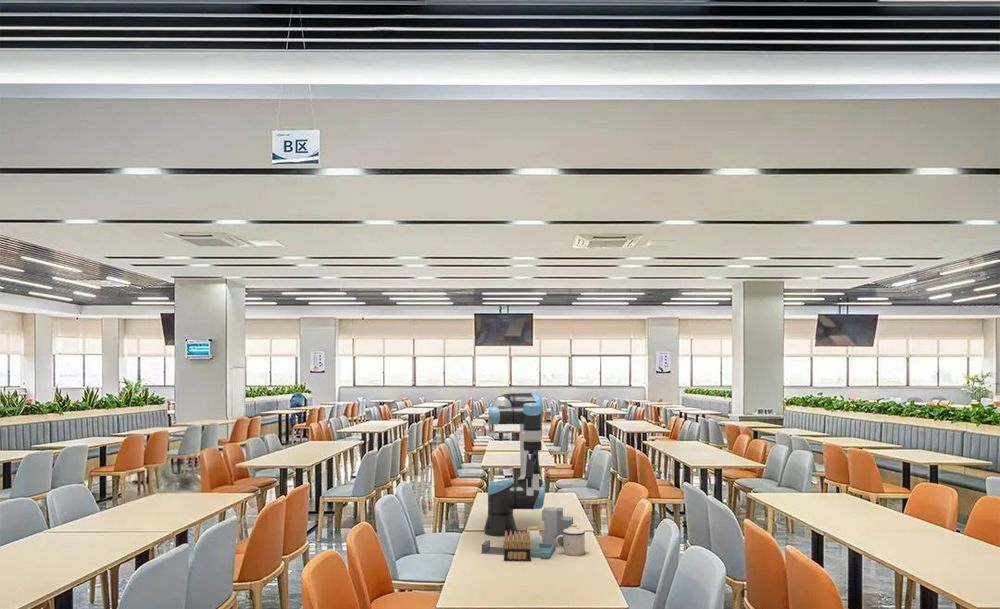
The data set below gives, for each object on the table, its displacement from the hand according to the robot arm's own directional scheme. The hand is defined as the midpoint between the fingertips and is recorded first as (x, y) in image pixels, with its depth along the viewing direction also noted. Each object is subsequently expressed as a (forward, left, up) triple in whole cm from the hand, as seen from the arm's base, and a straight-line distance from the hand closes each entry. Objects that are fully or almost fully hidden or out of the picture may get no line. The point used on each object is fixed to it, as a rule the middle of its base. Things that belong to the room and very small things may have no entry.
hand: (532, 492), depth 309 cm
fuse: (0, 0, -24) cm, 24 cm away
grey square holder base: (0, -15, -24) cm, 29 cm away
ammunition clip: (+14, -4, -25) cm, 29 cm away
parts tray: (0, 0, -24) cm, 25 cm away
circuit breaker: (-17, +9, -25) cm, 31 cm away
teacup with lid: (-3, +15, -25) cm, 29 cm away
